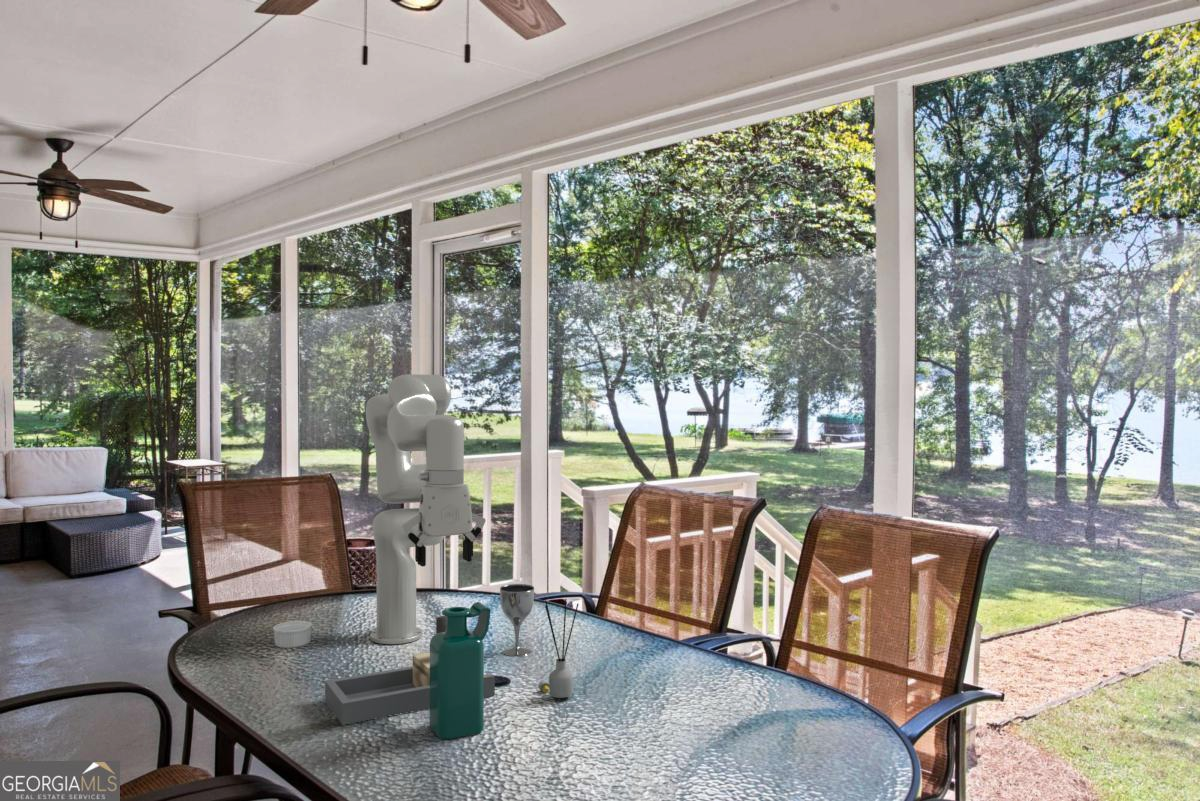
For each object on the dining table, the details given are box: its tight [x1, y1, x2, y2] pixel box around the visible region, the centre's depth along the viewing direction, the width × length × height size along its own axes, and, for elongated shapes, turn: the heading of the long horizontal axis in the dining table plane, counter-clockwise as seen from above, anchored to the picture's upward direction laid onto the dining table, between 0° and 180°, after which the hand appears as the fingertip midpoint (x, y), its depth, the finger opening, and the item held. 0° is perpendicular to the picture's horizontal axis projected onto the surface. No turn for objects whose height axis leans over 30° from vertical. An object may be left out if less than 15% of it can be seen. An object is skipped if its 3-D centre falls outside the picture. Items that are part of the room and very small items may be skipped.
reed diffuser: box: [538, 596, 579, 699], centre depth 169 cm, size 10×7×20 cm
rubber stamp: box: [412, 615, 447, 687], centre depth 172 cm, size 10×10×14 cm
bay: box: [324, 665, 496, 726], centre depth 169 cm, size 14×30×4 cm, turn 120°
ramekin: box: [272, 620, 313, 649], centre depth 205 cm, size 9×9×4 cm
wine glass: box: [499, 583, 535, 657], centre depth 199 cm, size 8×8×15 cm
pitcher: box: [429, 601, 492, 740], centre depth 154 cm, size 10×8×22 cm
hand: (444, 562), depth 172 cm, fingers open, 9 cm apart
